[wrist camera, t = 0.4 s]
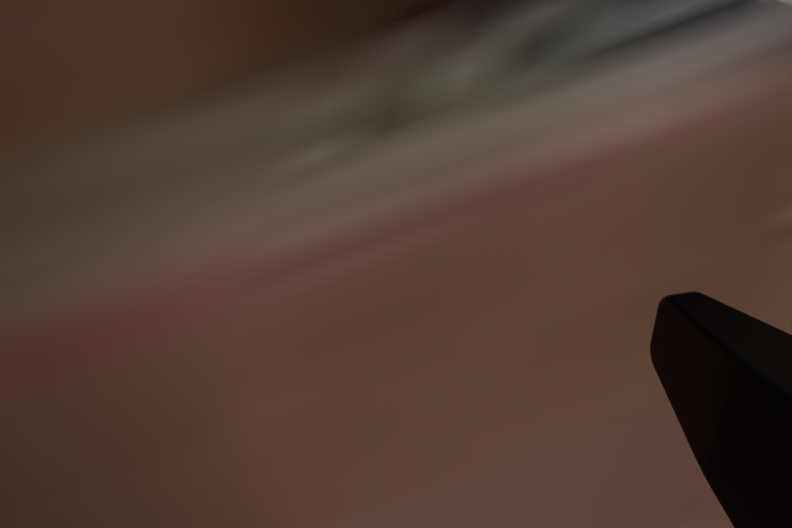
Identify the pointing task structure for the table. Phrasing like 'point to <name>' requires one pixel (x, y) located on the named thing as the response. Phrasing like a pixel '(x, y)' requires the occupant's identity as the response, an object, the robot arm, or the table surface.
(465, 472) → the table surface
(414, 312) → the table surface
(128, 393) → the table surface
